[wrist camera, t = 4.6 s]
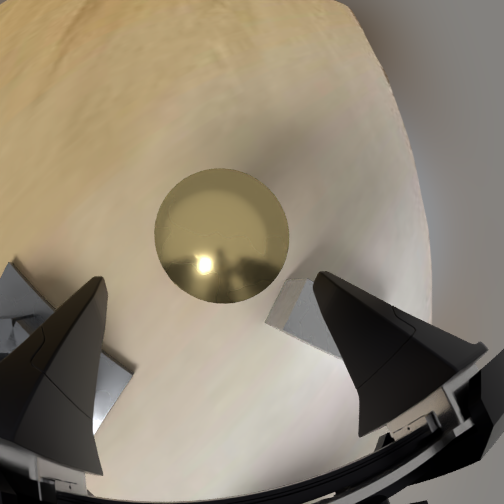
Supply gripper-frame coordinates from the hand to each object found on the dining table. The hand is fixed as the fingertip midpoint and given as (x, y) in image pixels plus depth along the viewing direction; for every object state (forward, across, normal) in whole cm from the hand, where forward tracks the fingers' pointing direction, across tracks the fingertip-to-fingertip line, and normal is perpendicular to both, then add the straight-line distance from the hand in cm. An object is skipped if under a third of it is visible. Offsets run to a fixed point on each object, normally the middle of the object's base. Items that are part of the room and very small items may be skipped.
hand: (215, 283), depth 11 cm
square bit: (+4, +11, -10) cm, 16 cm away
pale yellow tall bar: (+8, 0, -6) cm, 10 cm away
